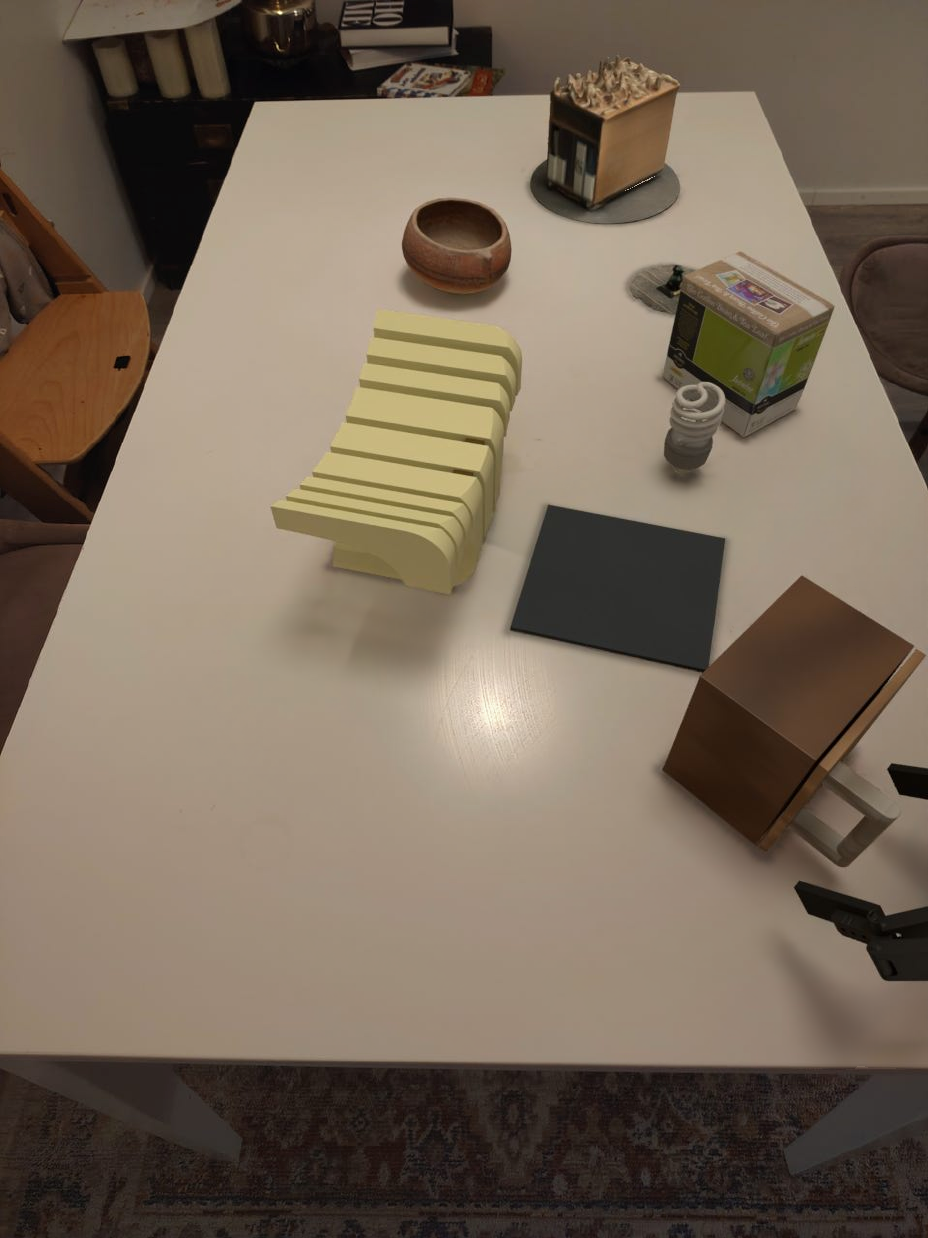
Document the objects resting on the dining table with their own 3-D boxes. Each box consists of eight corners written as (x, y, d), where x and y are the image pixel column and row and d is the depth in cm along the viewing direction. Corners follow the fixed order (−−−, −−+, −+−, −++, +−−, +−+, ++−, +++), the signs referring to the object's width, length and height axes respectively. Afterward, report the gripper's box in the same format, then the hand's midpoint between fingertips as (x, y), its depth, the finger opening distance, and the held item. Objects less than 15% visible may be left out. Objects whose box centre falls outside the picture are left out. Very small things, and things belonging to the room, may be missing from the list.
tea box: (798, 409, 105) (839, 304, 93) (742, 440, 101) (777, 335, 89) (714, 350, 112) (742, 246, 100) (658, 377, 109) (680, 273, 97)
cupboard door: (905, 787, 74) (994, 697, 61) (820, 898, 68) (898, 823, 55) (844, 744, 76) (917, 648, 64) (758, 847, 71) (818, 764, 58)
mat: (724, 541, 92) (725, 538, 91) (706, 673, 81) (708, 670, 81) (547, 507, 95) (548, 504, 95) (510, 630, 85) (510, 626, 84)
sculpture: (700, 322, 116) (672, 276, 113) (647, 345, 123) (618, 302, 120) (723, 274, 122) (697, 228, 118) (671, 298, 129) (645, 256, 125)
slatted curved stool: (453, 657, 83) (448, 538, 69) (305, 626, 85) (270, 505, 71) (517, 458, 100) (523, 329, 86) (391, 437, 103) (377, 308, 88)
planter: (668, 232, 130) (693, 101, 115) (514, 212, 134) (519, 83, 119) (688, 160, 144) (712, 35, 129) (548, 143, 149) (556, 21, 134)
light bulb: (670, 448, 101) (690, 365, 91) (712, 466, 99) (738, 384, 89) (648, 475, 98) (667, 393, 88) (691, 494, 96) (715, 412, 86)
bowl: (491, 320, 117) (492, 253, 109) (389, 301, 120) (382, 234, 112) (523, 262, 126) (525, 196, 118) (426, 246, 129) (423, 180, 121)
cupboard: (841, 743, 77) (914, 645, 64) (755, 845, 71) (816, 761, 58) (750, 678, 81) (801, 574, 68) (662, 769, 75) (699, 675, 62)
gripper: (1251, 723, 50) (912, 699, 68) (1082, 1045, 39) (738, 914, 58) (1281, 818, 52) (944, 770, 70) (1128, 1148, 41) (781, 990, 60)
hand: (850, 835), depth 64 cm, fingers open, 13 cm apart
